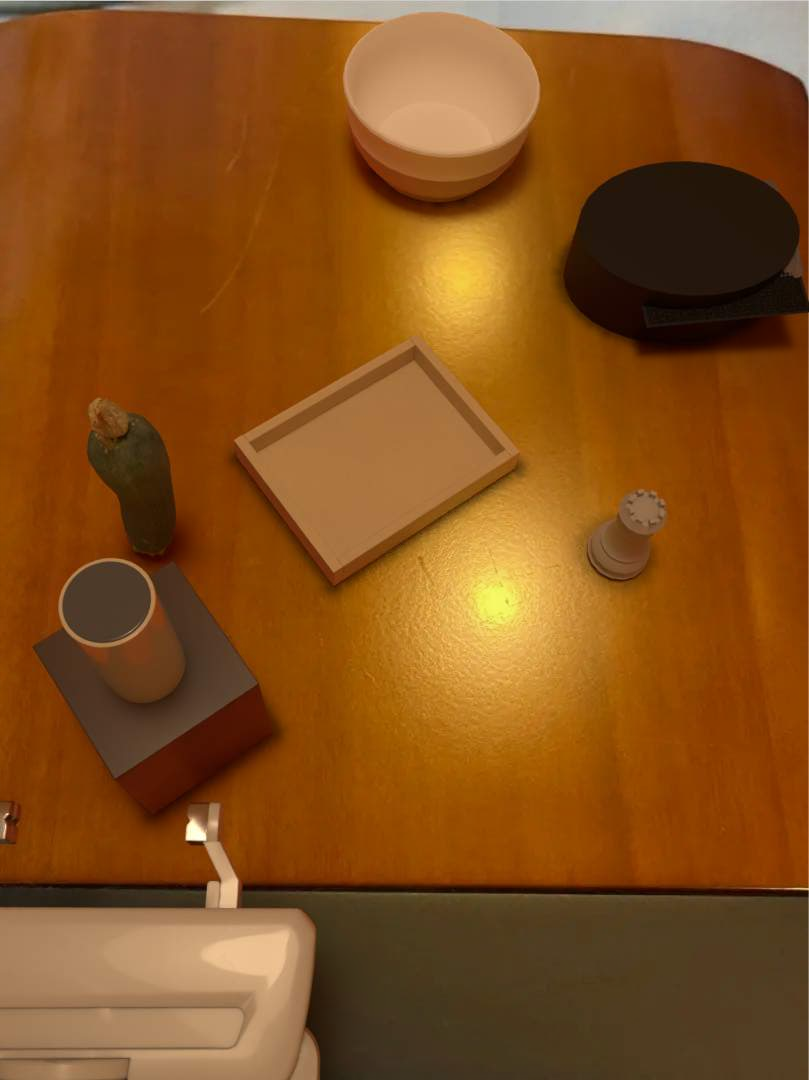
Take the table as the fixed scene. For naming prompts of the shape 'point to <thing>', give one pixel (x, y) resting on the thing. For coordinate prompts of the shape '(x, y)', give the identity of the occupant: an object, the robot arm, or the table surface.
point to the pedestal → (166, 704)
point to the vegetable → (134, 474)
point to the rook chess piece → (627, 535)
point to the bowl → (439, 103)
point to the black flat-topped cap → (685, 253)
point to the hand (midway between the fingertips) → (104, 802)
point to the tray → (375, 457)
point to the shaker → (123, 629)
